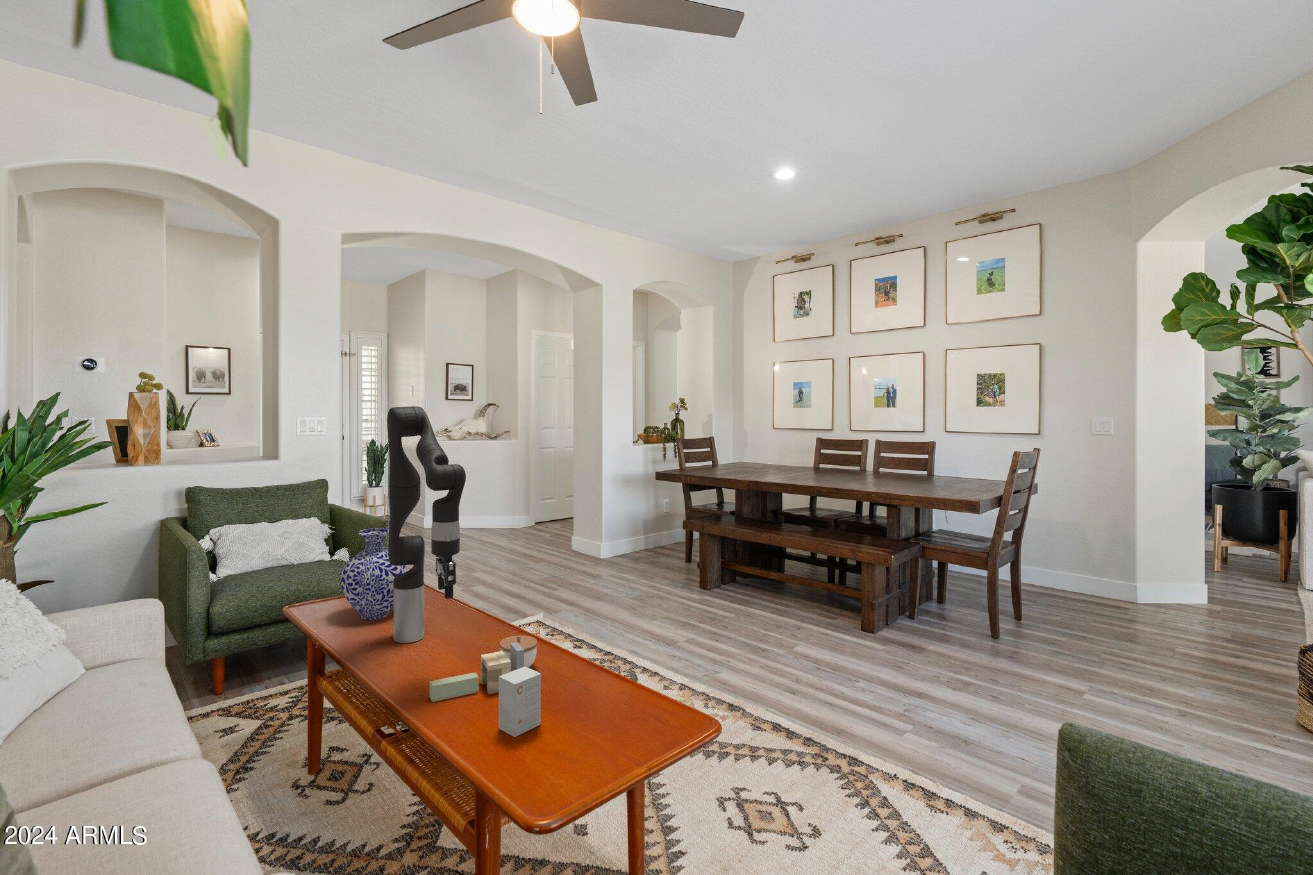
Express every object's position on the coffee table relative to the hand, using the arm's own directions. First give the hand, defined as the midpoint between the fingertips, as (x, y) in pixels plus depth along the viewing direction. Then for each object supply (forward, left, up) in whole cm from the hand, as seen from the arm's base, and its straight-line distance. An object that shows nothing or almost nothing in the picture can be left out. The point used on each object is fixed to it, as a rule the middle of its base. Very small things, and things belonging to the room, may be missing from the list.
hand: (445, 593), depth 184 cm
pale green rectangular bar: (+12, 0, -24) cm, 27 cm away
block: (+12, +11, -24) cm, 29 cm away
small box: (+36, +10, -24) cm, 44 cm away
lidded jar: (+3, +20, -24) cm, 31 cm away
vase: (-61, -11, -24) cm, 67 cm away
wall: (+12, +17, -24) cm, 31 cm away
